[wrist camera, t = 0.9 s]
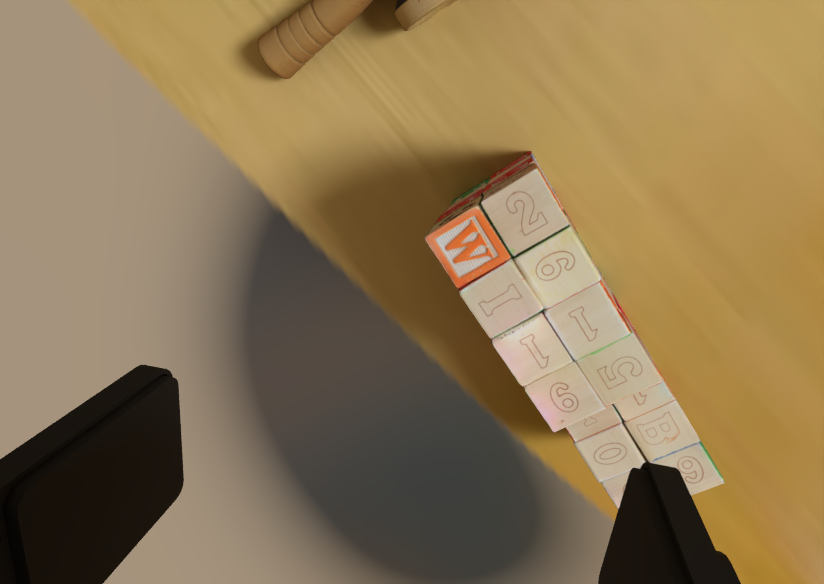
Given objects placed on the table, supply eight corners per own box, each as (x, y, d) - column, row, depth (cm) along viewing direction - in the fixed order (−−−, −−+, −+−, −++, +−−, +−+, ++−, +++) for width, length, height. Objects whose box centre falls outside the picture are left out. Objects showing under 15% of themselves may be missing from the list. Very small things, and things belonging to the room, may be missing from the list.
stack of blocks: (679, 402, 39) (749, 524, 27) (599, 436, 41) (633, 563, 29) (529, 148, 35) (537, 165, 23) (450, 199, 37) (421, 237, 25)
